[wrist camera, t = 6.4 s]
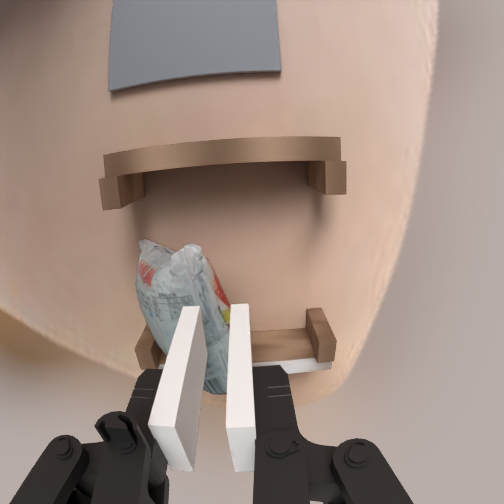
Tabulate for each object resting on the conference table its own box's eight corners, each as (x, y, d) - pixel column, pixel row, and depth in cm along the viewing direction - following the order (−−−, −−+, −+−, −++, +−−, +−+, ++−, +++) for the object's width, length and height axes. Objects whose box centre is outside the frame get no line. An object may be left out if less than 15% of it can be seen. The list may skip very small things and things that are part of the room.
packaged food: (169, 228, 24) (114, 250, 22) (233, 230, 14) (131, 273, 11) (203, 321, 26) (154, 345, 24) (280, 378, 16) (205, 423, 14)
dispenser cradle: (158, 347, 26) (145, 382, 22) (125, 153, 20) (96, 155, 16) (318, 339, 26) (331, 375, 22) (323, 139, 21) (345, 136, 16)
